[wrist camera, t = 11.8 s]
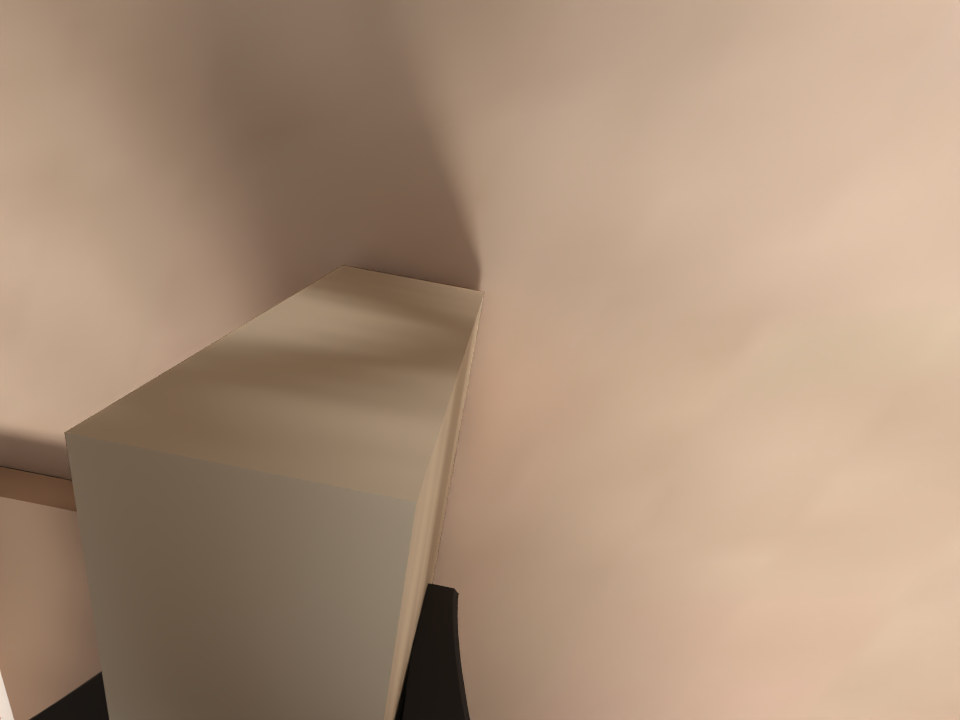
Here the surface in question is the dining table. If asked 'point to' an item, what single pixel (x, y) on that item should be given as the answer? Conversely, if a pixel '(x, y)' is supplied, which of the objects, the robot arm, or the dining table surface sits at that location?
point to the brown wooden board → (42, 596)
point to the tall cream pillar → (278, 506)
